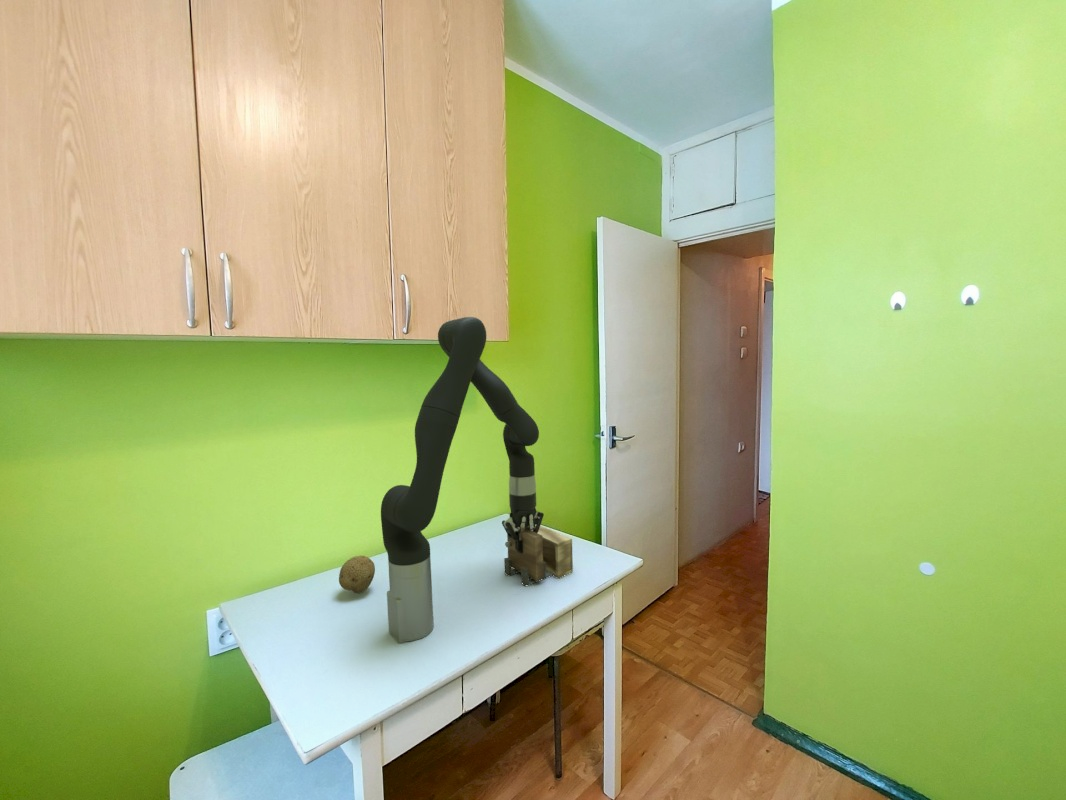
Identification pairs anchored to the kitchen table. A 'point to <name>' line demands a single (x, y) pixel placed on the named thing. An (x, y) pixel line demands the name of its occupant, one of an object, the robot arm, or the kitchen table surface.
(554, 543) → the cabinet
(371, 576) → the brown potato
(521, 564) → the door
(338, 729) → the kitchen table surface
